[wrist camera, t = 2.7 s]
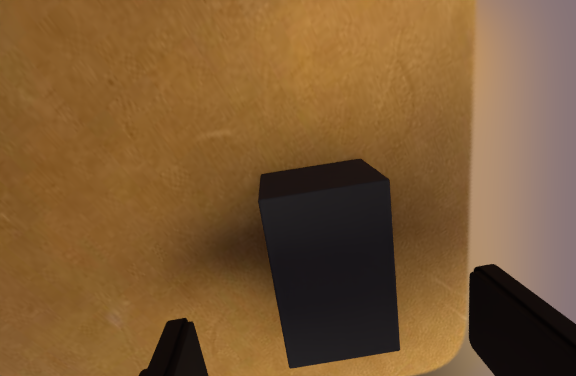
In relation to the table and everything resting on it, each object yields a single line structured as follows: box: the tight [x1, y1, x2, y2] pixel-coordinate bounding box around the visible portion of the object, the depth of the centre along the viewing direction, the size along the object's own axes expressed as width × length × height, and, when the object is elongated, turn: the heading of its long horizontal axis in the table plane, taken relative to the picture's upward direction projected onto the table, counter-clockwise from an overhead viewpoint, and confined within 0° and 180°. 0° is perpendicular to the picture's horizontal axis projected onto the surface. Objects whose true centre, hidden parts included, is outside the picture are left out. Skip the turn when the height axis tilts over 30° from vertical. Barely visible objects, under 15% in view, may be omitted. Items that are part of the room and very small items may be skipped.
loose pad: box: [258, 159, 400, 368], centre depth 15 cm, size 8×5×4 cm, turn 9°
